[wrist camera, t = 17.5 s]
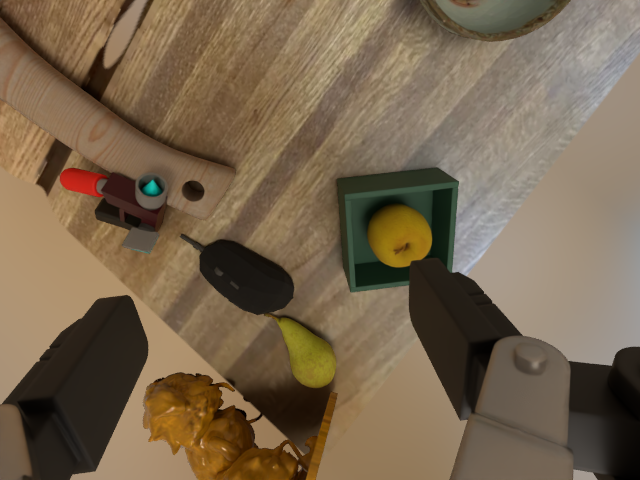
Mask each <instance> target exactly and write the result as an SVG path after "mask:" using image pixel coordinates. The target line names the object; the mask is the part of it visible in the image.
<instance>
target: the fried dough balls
mask: <svg viewBox="0 0 640 480" xmlns="http://www.w3.org/2000/svg"><path fill="white" fill-rule="evenodd" d="M195 375H196V376H195ZM195 375H193V374H185V373H182V372H179V373H175V374H172V375H169V376H167V377H166V378H164V377H162V379H161V378H159V379H157V380H155V381H154V382H153V383H151V384H150V385H149V386H147V388H146V392H145V396H144V400H143V406H144V409H145V412H144V416H143V427H144V428H145V429H148V428H149V429H150V432H151V437H150V439H149V442H151V441H157V440H163V441H165V442H167V443H168V444H169V445H170V447H171V449H172V453H173V455H175V454H176V453H177V452H178V450H179V448H180V447H182V448H183V447H184V448H185V452H186V455H187V459H188V463H189V465H190V466H191V468H192V470H193V472H194V474H195V476H196V478H197V480H316V476H317V472H318V468H319V465H320V461H321V457H322V453H323V450H324V446H325V442H326V438H327V434H328V431H329V427H330V423H331V419H332V415H333V411H334V407H335V403H336V399H337V395H338V393H335V392H332V391H331V393H330V396H329V400H328V403H327V407H326V410H325V414H324V417H323V421H322V424H321V428H320V431H319V435H318V436H311V437H309V438H308V439H307V441H306V443H305V446H308V447H309V448H310V451H309V453H307V454H305V455H304V456H302V455H301V454H300V452H299V451H298V449H297V448H296V446H295V445H294V443H293V442H292V441H290V440H285V441H283V442H282V443H281V444H280V446H278V447H276V448H275V449H274V450H273V449H268V448H262V449H259V448H258V446H257V445H256V444H255V443H254V439H255V434H254V430H253V428H252V426H251V425H250V423H253V422H255V421H257V420H259V419H260V418H261V417H262V416H263V415H262V414H261V413H260V415H259V416H258V417H257V418H254V419H252V420H249V421H247V420H246V417H247V415H246V412H245V411H244V410H241V409H238V408H235V406H234V405H233V406H230V407H228V408H226V409H224V410H221V409H219V408H220V407H221V406H222V404H223V402H224V401H223V400H222V399H221V396H222V391H220V390H219V387H225V388H228V389H229V390H231V391H232V392H233V391H235V390H234V389H233V388H232V387H231V386H230V385H229V384H227V383H224V382H223V383H216V384H212V382H213V379H212V378H211V377H210V376H208V375H202V374H199V373H196V374H195ZM243 399H244V401H246V402H248V401H247V400H246V399H245V398H244V397H243ZM286 444H289V445H290V446H291V447H292V449H293V451H294V452H295V454H296V455H297V457H298V458H299V460H297V459H296V458H295V457H293V455H291V454H290V452H289V453H286V451H285V450H284V451H283V447H284V446H285V445H286ZM298 464H299V465H300V466H301V467H302V468H301V470H300V471H299V472H298Z"/></svg>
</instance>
